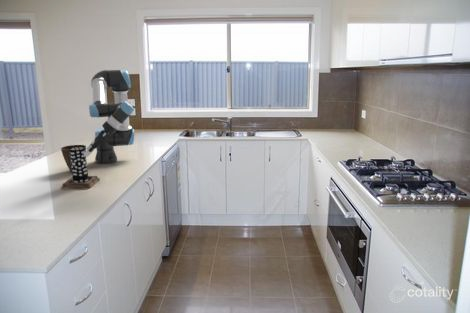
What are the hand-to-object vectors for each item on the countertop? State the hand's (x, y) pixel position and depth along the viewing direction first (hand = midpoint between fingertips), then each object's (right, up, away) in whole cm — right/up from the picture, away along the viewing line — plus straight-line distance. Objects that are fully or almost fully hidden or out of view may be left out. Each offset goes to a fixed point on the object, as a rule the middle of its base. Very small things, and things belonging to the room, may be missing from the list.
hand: (86, 152), depth 202 cm
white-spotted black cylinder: (-5, -17, +3) cm, 18 cm away
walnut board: (-5, -18, +4) cm, 19 cm away
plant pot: (-20, -12, +31) cm, 39 cm away
